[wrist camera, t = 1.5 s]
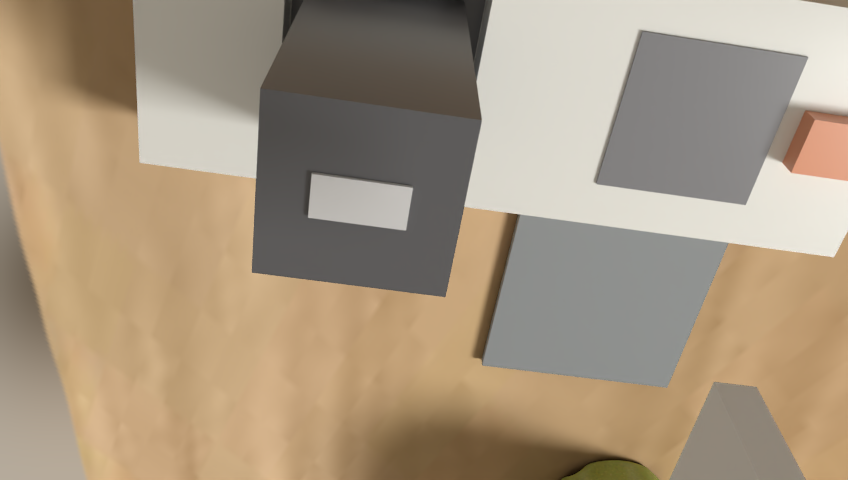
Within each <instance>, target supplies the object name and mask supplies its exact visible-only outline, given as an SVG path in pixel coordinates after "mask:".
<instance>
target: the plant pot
mask: <svg viewBox="0 0 848 480" xmlns="http://www.w3.org/2000/svg"><path fill="white" fill-rule="evenodd" d="M562 480H659V479H658V478H657V477H656V476H655V475H654V474H653V473H652V472H651V471H650V470H649V469H647V468H646V467H644V466H642V465H640V464H637V463H633V462H629V461H621V460H607V461H599V462H594V463H590V464H588V465H586V466H585V467H584V468H583V469H582V470H580V471H579V472H578V473H576V474H574V475H572V476H568V477H564V478H563V479H562Z"/></svg>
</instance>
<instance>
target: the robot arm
mask: <svg viewBox="0 0 848 480" xmlns="http://www.w3.org/2000/svg"><path fill="white" fill-rule="evenodd" d="M669 480H806V479H805V477H804V476H803V474H802V472H801V470H800V468H799V466H798V464H797V462H796V460H795V459H794V457H793V455H792V453H791V451H790V449H789V447H788V445H787V444H786V442H785V440H784V438H783V436H782V434H781V432H780V430H779V428H778V427H777V425H776V423H775V421H774V419H773V417H772V415H771V413H770V411H769V410H768V408H767V406H766V404H765V402H764V400H763V398H762V396H761V394H760V393H759V391H758V389H757V387H753V386H744V385H736V384H728V383H719V382H714V383H713V385H712V388H711V390H710V392H709V394H708V396H707V398H706V401H705V403H704V405H703V407H702V409H701V412H700V414H699V416H698V418H697V420H696V423H695V425H694V427H693V429H692V431H691V433H690V436H689V438H688V440H687V442H686V444H685V447H684V449H683V451H682V453H681V455H680V458H679V460H678V462H677V464H676V466H675V469H674V471H673V473H672V475H671V477H670V479H669Z"/></svg>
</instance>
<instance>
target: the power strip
mask: <svg viewBox="0 0 848 480" xmlns="http://www.w3.org/2000/svg"><path fill="white" fill-rule="evenodd" d="M464 1H465V8H466V14H467V21H468V28H469V35H470V42H471V49H472V55H473V62H474V69H475V76H476V83H477V89H478V96H479V103H480V110H481V117H482V123H481V128H480V133H479V137H478V142H477V147H476V152H475V157H474V162H473V166H472V171H471V176H470V181H469V186H468V190H467V195H466V200H465V205H464V207H469V208H477V209H484V210H491V211H499V212H506V213H513V214H521V215H528V216H535V217H543V218H550V219H557V220H565V221H572V222H580V223H587V224H594V225H602V226H609V227H616V228H624V229H631V230H638V231H646V232H653V233H660V234H668V235H675V236H682V237H690V238H697V239H704V240H712V241H719V242H727V243H734V244H741V245H749V246H756V247H763V248H771V249H778V250H785V251H793V252H800V253H807V254H815V255H822V256H829V257H834V256H835V254H836V252H837V250H838V248H839V246H840V244H841V243H842V241H843V239H844V237H845V235H846V233H847V231H848V0H464ZM302 2H303V0H133V17H134V41H135V64H136V88H137V111H138V135H139V158H140V163H146V164H153V165H160V166H168V167H175V168H183V169H190V170H197V171H205V172H212V173H219V174H227V175H234V176H241V177H249V178H256V170H257V148H258V126H259V104H260V88H261V86H262V84H263V82H264V79H265V77H266V75H267V73H268V71H269V69H270V67H271V65H272V63H273V61H274V59H275V57H276V55H277V53H278V51H279V49H280V47H281V45H282V43H283V41H284V39H285V37H286V35H287V33H288V31H289V29H290V27H291V25H292V23H293V21H294V19H295V17H296V15H297V13H298V11H299V9H300V7H301V4H302Z"/></svg>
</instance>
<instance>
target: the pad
mask: <svg viewBox="0 0 848 480" xmlns="http://www.w3.org/2000/svg"><path fill="white" fill-rule="evenodd" d="M727 245H728V243H727V242H719V241H712V240H704V239H697V238H690V237H682V236H675V235H668V234H660V233H653V232H646V231H638V230H631V229H624V228H616V227H609V226H602V225H594V224H587V223H580V222H572V221H565V220H557V219H550V218H543V217H535V216H528V215H521V214H518V217H517V221H516V225H515V229H514V233H513V237H512V241H511V245H510V249H509V253H508V257H507V261H506V265H505V269H504V273H503V277H502V281H501V285H500V289H499V293H498V297H497V301H496V305H495V309H494V313H493V317H492V321H491V325H490V329H489V333H488V337H487V341H486V345H485V349H484V353H483V357H482V365H483V366H492V367H500V368H508V369H517V370H525V371H533V372H541V373H550V374H558V375H566V376H575V377H583V378H591V379H600V380H608V381H616V382H624V383H633V384H641V385H649V386H658V387H666V388H667V387H668V384H669V382H670V380H671V377H672V375H673V373H674V370H675V368H676V366H677V363H678V361H679V358H680V356H681V354H682V351H683V349H684V347H685V344H686V342H687V340H688V337H689V335H690V333H691V330H692V328H693V325H694V323H695V321H696V318H697V316H698V314H699V311H700V309H701V307H702V304H703V302H704V300H705V297H706V295H707V292H708V290H709V288H710V285H711V283H712V281H713V278H714V276H715V274H716V271H717V269H718V267H719V264H720V262H721V260H722V257H723V255H724V252H725V250H726V248H727Z"/></svg>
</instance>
